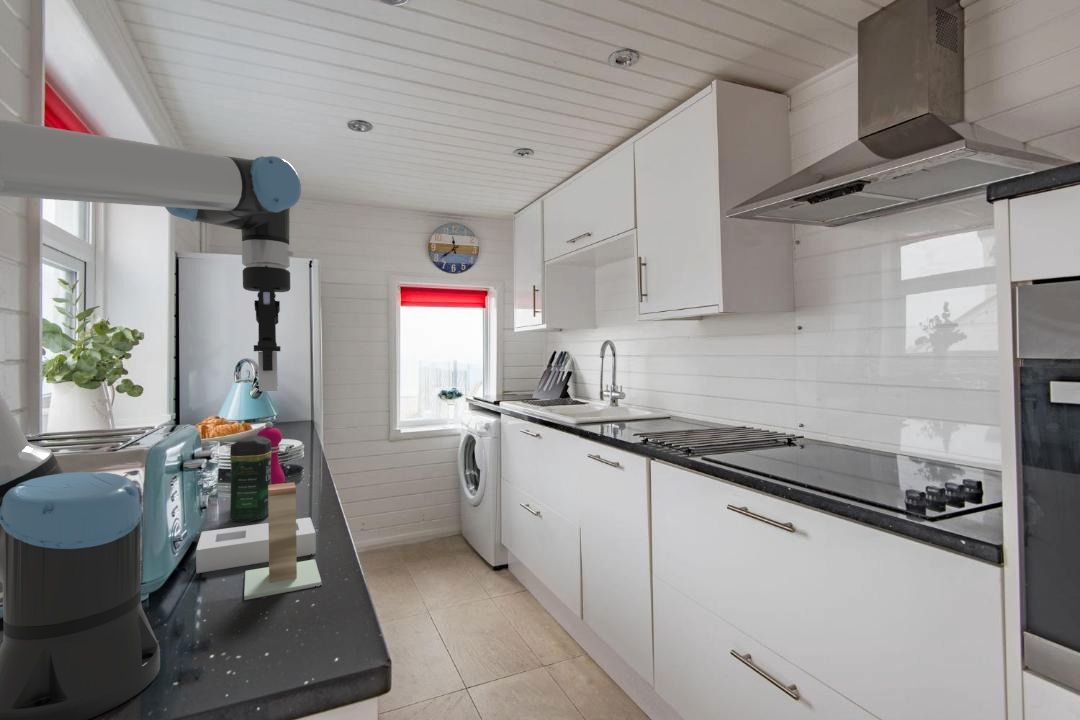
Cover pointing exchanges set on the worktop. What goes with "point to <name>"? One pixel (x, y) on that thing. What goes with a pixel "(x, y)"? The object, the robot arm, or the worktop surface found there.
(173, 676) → the worktop surface
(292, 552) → the tan wooden tall block
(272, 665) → the worktop surface
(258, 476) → the coffee jar
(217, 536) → the white box
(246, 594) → the mat
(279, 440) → the pepper mill
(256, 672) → the worktop surface
